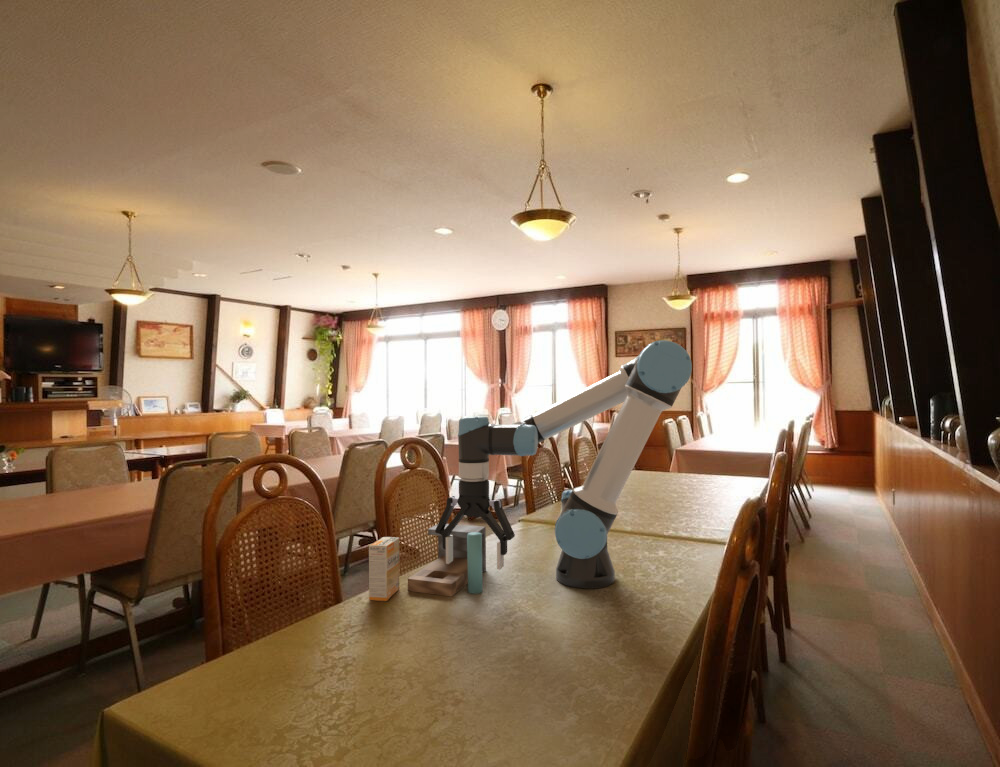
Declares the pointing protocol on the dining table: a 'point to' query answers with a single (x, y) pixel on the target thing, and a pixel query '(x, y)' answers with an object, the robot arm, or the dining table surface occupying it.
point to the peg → (474, 562)
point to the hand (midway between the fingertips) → (474, 565)
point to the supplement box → (383, 568)
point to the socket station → (451, 575)
